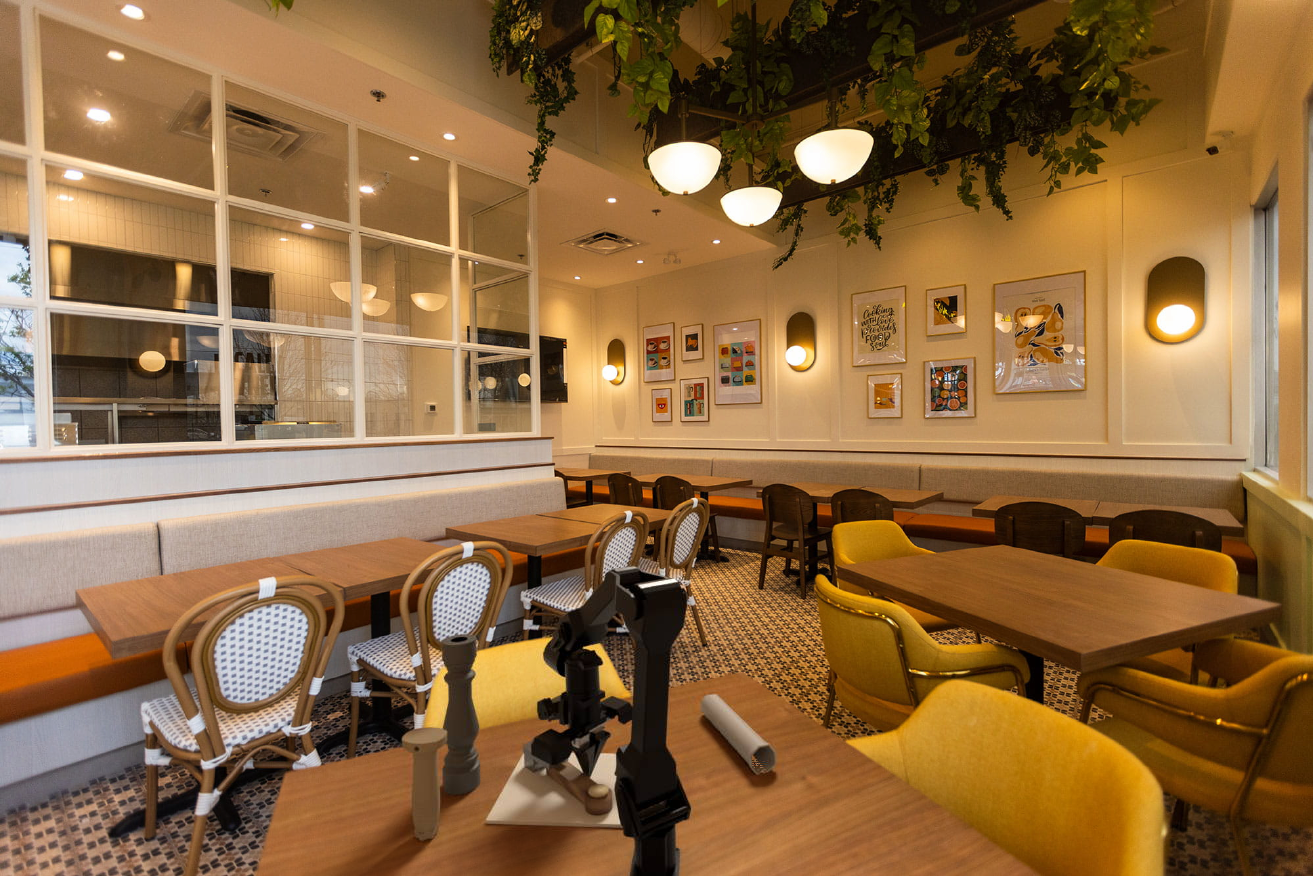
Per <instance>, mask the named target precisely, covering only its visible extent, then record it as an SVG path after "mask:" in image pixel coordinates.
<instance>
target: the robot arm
mask: <svg viewBox="0 0 1313 876" xmlns="http://www.w3.org/2000/svg"><path fill="white" fill-rule="evenodd" d="M687 610H688V595H687V592H686V589H685V587H684V586H682V584H680V583H679V581H678V580H677V579H675V578H674V577H673V578H672V577H668V576H666V575H662V574H658V573H654V572H650V571H645V570H643V569H642V568H640V567H638V566H635V565H632V566H631V565H630V566H624V567H619V568H612V569H610V570H609V571H606V572H605V575H604V579H603V580H602V582H601V583H600V584H599V585H598V586H597V588H596V589H595V590H594V591H593V592H592V593H591V595H590V596H589V597H588V598H587V599H586V601H585V602H584V603H583V604H582V605H581V606H580V607H577V608H575V609H572V610H570V611H568V612H565V613H564V614H563V615H561V616H560V618H559V620H558V623H557V625H556V627H555V630H554V632H552V638H551V639H550V640H549V641H548V642H547V644H546V645H545V647H544V649H543V652H542V653H543V654H542V659H543V661H544V663H545V664H546V666H548V667H549V668H551V669H552V670H553V671H554V672H555V673H557V674H558V675H559V676H560V677H562V678H565V691H563V692H561V694H559V695H557V696H555V697H553V698H551V697H547V698H545V697H544V698H542V699H540V700H538V701H536V713H537V717H538V719H539V720H540V721H547V722H549V723H550V722H552V721H556V720H558V721H559V724H560V725H562V726H566V725H567V727H568V728H566V729H565V730H563V731H561V732H559V731H558V730H555V729H553V728H549V729H547V730H545V731H544V732H542V733H539V734H538V735H536V736H534V737H533V738H532V740H530V741H531V755H533V756H535V757H537V758H538V759H540V760H542V761H544V762H546V763H548V764H550V765H558V764H559V763H561V762H563V761H564V760H566V759H568V758H569V757H570V755H571V753H574V754H575V755H576V757H577V760H578V762H579V764H580V767H581V769H582V771H583V773H584V774H585V775H587V776H588V777H589V778H590V777H591V775H592V772H593V770H594V768H595V765H596V763H597V760H598V758H599V756H600V754H601V753H602V751H603V749H604V747H605V745H606V743H607V741H608V740H609V738H611V737H612V736H611V735H612V734H611V732H609V731H606V727H605V724H607V723H609V722H610V721H612V720H613V719H615V718H616V717H617V721H618V723H620V724H621V725H626V724H627V723H629V722H631V732H630V741H629V743H628V744H624V745H622V746H620V747H617V750H616V752H615V754H616V770H615V773H614V774H615V776H616V782H615V788H614V791H615V797H616V803H617V809H618V815H619V820H620V824H621V826H622V827H623V828H622V830H623V831H622V835H623V836H624V837H626V838H631V839H632V838H633V840H634V842H633V843H634V847H633V848H634V849H633V854H632V862H631V867H630V873H629V876H679V875H680V862H681V861H680V858H681V857H680V856H681V849H680V847H677V841H676V840H677V835H676V834H677V832H676V825H677V824H679V823H682V822H684V821H688V820H689V819H690V815H691V812H692V806H691V803H690V802H689V799H688V797H687V796H688V795H687V794H686V792H685V790H684V787H683V785H682V782H681V780H680V777H679V775H678V772H677V770H678V769H677V761H676V759H675V758H674V757H673V754H672V753H671V751H670V749H669V748H668V745H667V733H668V715H669V698H670V697H669V695H670V679H671V662H672V661H671V659H672V657H671V656H672V646H673V644H674V643H675V642H676V640H677V638H678V636H680V633H681V632H682V630H683V628H684V626H685V621H686V615H687ZM617 613H619V614H620V615H622V616H623V617H624V626H625V627H626V629H627V631H628V633H629V634H630V636H631V637H632V639H633V641H634V647H635V649H634V662H633V663H634V666H633V668H634V670H633V684H632V685H633V689H632V703H631V702H629V701H628V700H624V699H622V698H619V697H616V696H614V695H610V696H609V697H607V698H606V691H605V690H603V689H601V683H600V667H601V666H603V665H604V661H603V659H602V657H601V656H599V655H598V654H597V652H596V650H595V649H592V650H590V649H588V648H585V647H591V646H595V645H599V644H601V643H603V640H604V639H605V637H606V635H607V634H608V632H609V628H608V625H607V624H608V623H609V622H610V621H611V619H613V618H614V616H616V614H617Z"/></svg>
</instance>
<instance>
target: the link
mask: <svg viewBox="0 0 1313 876" xmlns="http://www.w3.org/2000/svg"><path fill="white" fill-rule="evenodd" d="M546 774H547V775H549V776H550V777H551V778H552V779H553V780H555V781H556V782H557V783H558V784H559V785H561V786H562V787H563V788H564V789H565V790H567V791H568V792H569V793H570V794H572V795H573V796H574V797H575V798H576V799H578V800H579V801H580V802H581V803H582V804H584V805H585V810H586V812H587V813H589V814H591V815H603V814H606V813H608V812H609V811H610V810H611V809H612V807H613V797H612V790H611V789H610V788H609V792H608V794H607V795H605V796H603V797H599V798H595V797H592V796H590V795H589V793H588V790H589V788H590V787H591V786H592V785H595V784H597V783H596V782H595V781H593V780H592V779H591V778H589V777H588V776H587V775H585V774H584V773H583V772H581V771H580V770H579V769H577V768H576V767H575V766H573V765H572V764H571V763H569V762H568V761H566V762H564V763H562V764H560V765H558V766H556V767H554V768H552V769H550V770H549V769H547V768H546Z"/></svg>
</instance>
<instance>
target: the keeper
mask: <svg viewBox="0 0 1313 876" xmlns="http://www.w3.org/2000/svg"><path fill="white" fill-rule="evenodd" d="M531 741H532V740H530V741H528V742H526V743H524V744H523V746H522V753H524V767H526V768H527V769H529V770H530V771H532V772H533V773H534V772H536V771H538V770H541V769H543V768H545V767H546V768H547V769H549V770H550V769H552V768H554V767H556V766H558V765H560V764H562V763H564V762H566V761H568V759H566V760H564V761H563V762H561V763H559V764H558V765H550V764H548V763H546V762H544V761H542V760H540V759H538V758H537V757H535V756H533V755H531Z"/></svg>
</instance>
